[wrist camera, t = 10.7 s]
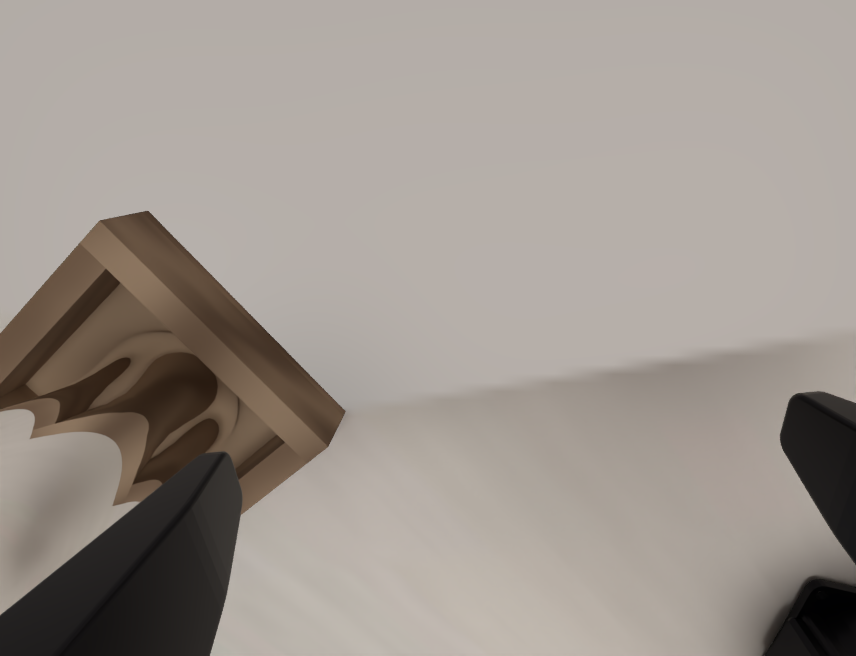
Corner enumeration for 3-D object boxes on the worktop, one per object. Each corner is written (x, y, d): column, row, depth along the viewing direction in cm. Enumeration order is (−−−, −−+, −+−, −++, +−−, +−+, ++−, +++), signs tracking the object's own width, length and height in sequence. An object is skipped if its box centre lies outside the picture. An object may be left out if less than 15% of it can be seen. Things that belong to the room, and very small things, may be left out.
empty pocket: (345, 411, 23) (328, 446, 21) (183, 540, 27) (149, 586, 24) (147, 210, 21) (99, 220, 19) (-3, 377, 24) (-64, 406, 22)
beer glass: (93, 304, 22) (-566, 580, 8) (256, 339, 22) (-130, 678, 8) (96, 446, 25) (-413, 852, 11) (243, 478, 25) (-73, 932, 10)
